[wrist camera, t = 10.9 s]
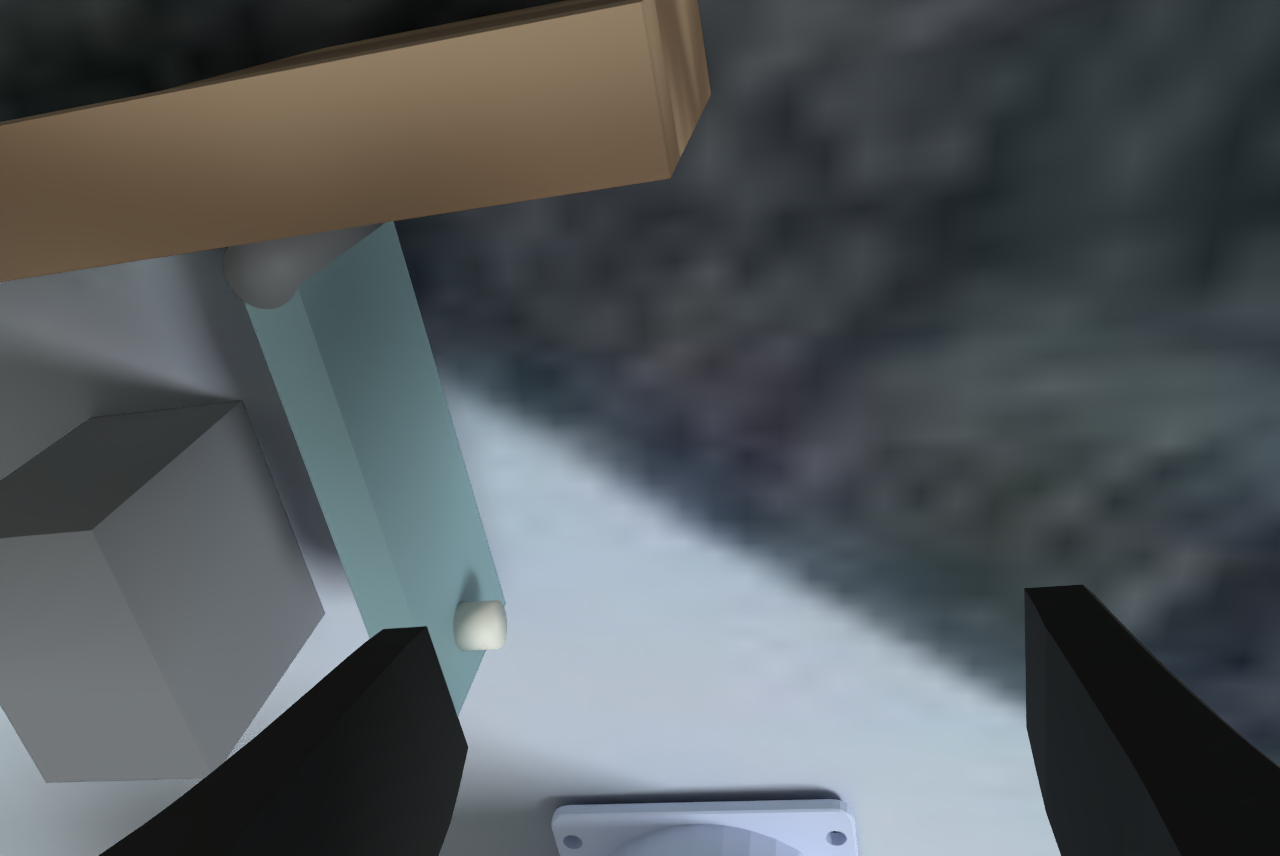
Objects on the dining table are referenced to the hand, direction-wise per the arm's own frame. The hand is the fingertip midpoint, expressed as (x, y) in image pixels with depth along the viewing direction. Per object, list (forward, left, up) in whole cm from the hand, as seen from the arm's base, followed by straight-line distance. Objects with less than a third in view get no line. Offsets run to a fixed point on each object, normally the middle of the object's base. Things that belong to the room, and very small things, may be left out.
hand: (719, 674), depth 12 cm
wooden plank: (+6, +11, -9) cm, 16 cm away
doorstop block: (-2, +14, -10) cm, 17 cm away
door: (0, +7, -9) cm, 11 cm away
